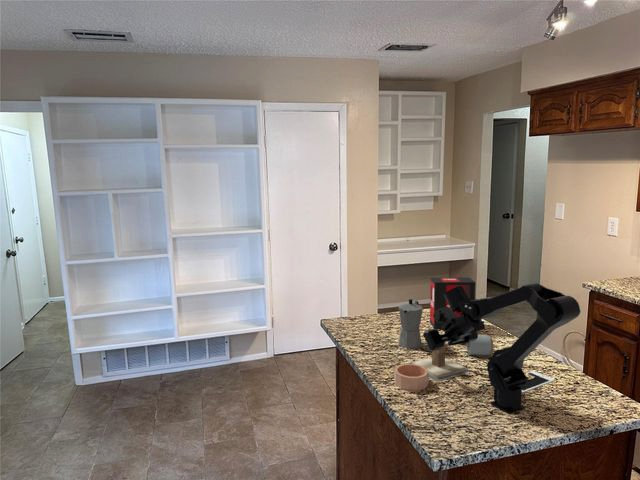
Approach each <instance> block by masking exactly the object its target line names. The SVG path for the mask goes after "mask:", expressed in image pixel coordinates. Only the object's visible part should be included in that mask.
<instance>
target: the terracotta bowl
mask: <svg viewBox="0 0 640 480" xmlns="http://www.w3.org/2000/svg"><path fill="white" fill-rule="evenodd" d="M393 372H394V374H393V375H394V376H393V377H394V379H393V380H394V384H395V386H396V387H398V388H399V389H401V390H405V391H411V392H413V391H422V390H425V389H426V388H427V387H428V386H429V377H428V376H429V372H428V370H427V368H425V367H423V366H421V365H416V364H410V363H402V364H399V365H397V366H396V367H394V371H393Z"/></svg>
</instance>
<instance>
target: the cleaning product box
mask: <svg viewBox="0 0 640 480" xmlns="http://www.w3.org/2000/svg"><path fill="white" fill-rule="evenodd" d="M460 285H462V287H463V288H464V291H465V293H466V294H467V296H468V298H469V299H470V300H473V299H476V281H474V280H473V278H470V277H468V276H467V277H466V276H465V277H430V287H429V288H430V289H429V290H430V291H429V292H430V294H429V295H430V297H429V323H430V325H431V327H432V329H434V328H435V329H437V330H443V329H442V327H441V326H442V325H443V324H442V323H441V322H440V321H439V322H437V321H436V320H435V319H434V318H433V314H434V312H435V311H436V310H438V309H439V308H444V307H449V308H450V309H451V307H450V305H449V303H448V302H447V300H446V298H445V296H444V294H445V293H446V292H447V291H449V290H451V289H453V288H455V287H456V286H460ZM451 310H452V309H451ZM454 313H455V314H456V315H457V317H458V316H459V315H460V314H461V313H462V312H460V313H457V311H455V312H454Z"/></svg>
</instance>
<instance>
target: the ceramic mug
mask: <svg viewBox="0 0 640 480" xmlns="http://www.w3.org/2000/svg"><path fill="white" fill-rule="evenodd" d="M466 352H467V353H468V356H477V357H478V356H482V357H491V356H492V355H493V353H494V341H493V337H492V336H490V335H487V334H480V333H479V334H478V338H477V339H476V340H475V341H471V342H468V343H466Z"/></svg>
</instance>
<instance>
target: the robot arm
mask: <svg viewBox="0 0 640 480" xmlns="http://www.w3.org/2000/svg"><path fill="white" fill-rule="evenodd" d="M444 296H445V298H446V300H447V302H448V303H449V305H450V307H451V309H452V310H451V309H450V308H449V307H444V308H439V309H438V310H436V311H435V312H434V314H433V318H434V319H435V320H436V321H437V322H439V321H440V322H441V323H442V324H443V325H442V326H441V327H442V329H441V330H442V331H443V330H444V331H443V332H444V333H442V334H441V333H440V332H439V329H435V328H429V329H426V330H425V331H424V332H423V333H422V336H423V338H424V339H425V342H426V347H425V349H426V351H427V352H432V351H435V350H439V349H441V348H442V347H444V342H445V343H447V345H448V346H449V347H451V346H457V345H464V344H467V343H468V342H471V341H475V340H476V339H477V338H478V332H479V331H484V330H485V329H486V326H485V321H483V319H487V318H493V317H494V316H496V315H497V314H499V313H500V312H501V311H502V310H505V309H507V308H510V307H513V306H516V305H519V304H523V303H526V302H527V303H528V304H529V305H530V306H531V308H532V309H533V310H534V311H535V312H536V319H535V320H534V322H533V323H532V324H530V326H529V327H527V329H526V330H525V331H524V332H523V333H522V334H521V335H520V336H519V337H518V338H517V339H516V340H515V342H514V343H513V344H512V345H511V346H507V347H504V348H500V349H497V350H494V351H493V352H492V355H490V356H489V357H487V362H486V367H487V369H486V370H487V374H488V378H489V381H490V382H489V383H490V385H491V386H492V387H493V401H490V405H491V406H493V407H495V408H497V409H499V410H501V411H503V412H505V413H507V414H509V415H512V414H513V413H516V412H519V411H521V410H524V409H525V408H526V407H525V405H524V404H522V398H523V397H522V394H523V393H522V388H521V387H520V386H523V385H526V383H527V381H528V380H529V378H528V377H527V375H526V373H525V371H524V370H523V369H522V368H523V367H524V361H525V359H526V358H527V357H528V356H529V355H530V354H531V353H532V352H533V351H534V350H535V349H536V348H537V347H538V346H540V344H541V343H542V342H544V341H545V340H546V338H548V337H549V336H550V335H551V334H552V333H553V332H554V331H555V330H557V329H558V328H560V327H563V326H565V325H567V324H569V323H570V322H572V321H574V320H575V319H576V318H579V316H580V314H581V312H582V311H581V307H580V304H579V301H577V299H575V298H574V297H573V296H570V295H566V294H564V293H562V292H560V291H558V290H557V291H556V290H553V289H552V288H548V287H546V286H544V285H542V284H540V283H538V282H535V283H528V284H524V285H522V286H521V287H517V288H516V289H512V290H510V291H507V292H504V293H500V294H498V295H495V296H487V297H483V298H482V297H481V298H475V299H473V300H470V299H469V298H468V296H467V294H466V293H465V291H464V288H463V287H462V285H460V286H456V287H455V288H453V289H451V290H449V291H447V292H446V293H445V294H444ZM455 311H457V313H460V312H462V313H461V314H460V315H459V316H458V317H457V315H456V314H455V313H454V312H455Z"/></svg>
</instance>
